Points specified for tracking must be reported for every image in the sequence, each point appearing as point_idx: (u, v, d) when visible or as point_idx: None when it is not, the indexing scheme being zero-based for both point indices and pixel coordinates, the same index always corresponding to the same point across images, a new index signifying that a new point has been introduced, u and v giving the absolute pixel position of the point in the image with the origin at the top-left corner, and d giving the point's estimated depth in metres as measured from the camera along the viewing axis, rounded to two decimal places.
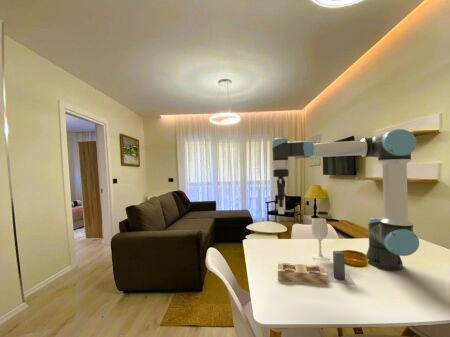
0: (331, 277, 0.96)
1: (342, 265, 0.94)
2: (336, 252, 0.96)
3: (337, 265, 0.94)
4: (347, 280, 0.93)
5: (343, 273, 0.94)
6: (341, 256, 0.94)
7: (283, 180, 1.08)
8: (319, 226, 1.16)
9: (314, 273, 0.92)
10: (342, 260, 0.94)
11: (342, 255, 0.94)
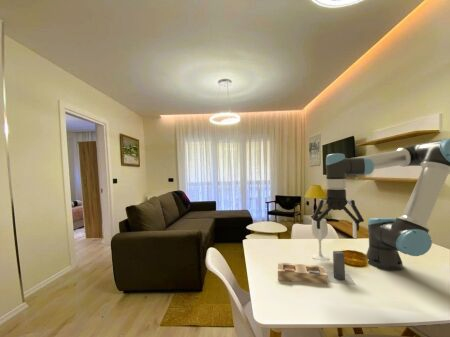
0: (331, 277, 0.96)
1: (342, 265, 0.94)
2: (336, 252, 0.96)
3: (337, 265, 0.94)
4: (347, 280, 0.93)
5: (343, 273, 0.94)
6: (341, 256, 0.94)
7: (334, 202, 0.96)
8: None
9: (314, 273, 0.92)
10: (342, 260, 0.94)
11: (342, 255, 0.94)
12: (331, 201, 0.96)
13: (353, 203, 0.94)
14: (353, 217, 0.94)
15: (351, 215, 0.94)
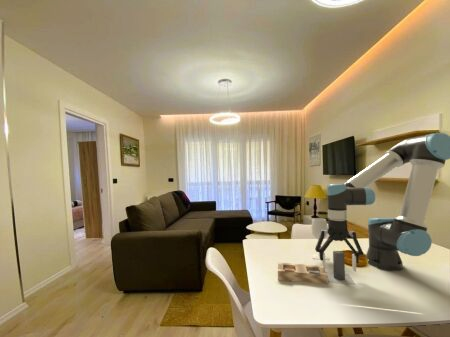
0: (331, 277, 0.96)
1: (342, 265, 0.94)
2: (336, 252, 0.96)
3: (337, 265, 0.94)
4: (347, 280, 0.93)
5: (343, 273, 0.94)
6: (341, 256, 0.94)
7: (335, 232, 0.95)
8: (319, 226, 1.16)
9: (314, 273, 0.92)
10: (342, 260, 0.94)
11: (342, 255, 0.94)
12: (332, 231, 0.96)
13: (354, 235, 0.93)
14: (353, 249, 0.93)
15: (351, 247, 0.94)
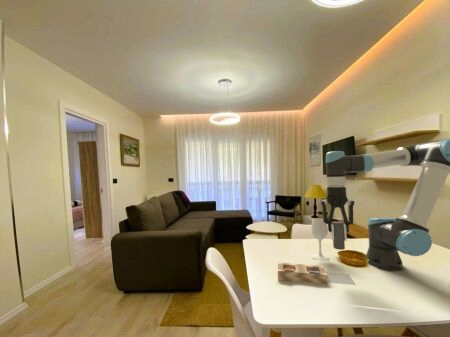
0: (331, 277, 0.96)
1: (342, 234, 0.94)
2: (335, 222, 0.96)
3: (336, 234, 0.94)
4: (347, 280, 0.93)
5: (343, 242, 0.94)
6: (341, 226, 0.94)
7: (334, 199, 0.96)
8: (319, 226, 1.16)
9: (314, 273, 0.92)
10: (341, 229, 0.94)
11: (341, 224, 0.94)
12: (331, 198, 0.96)
13: (352, 204, 0.94)
14: (345, 218, 0.94)
15: (344, 216, 0.94)
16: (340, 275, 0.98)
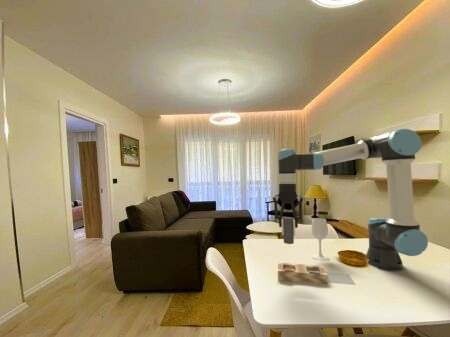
0: (331, 277, 0.96)
1: (290, 229, 0.97)
2: (286, 218, 1.00)
3: (286, 229, 0.98)
4: (347, 280, 0.93)
5: (291, 237, 0.97)
6: (290, 221, 0.97)
7: (284, 195, 0.99)
8: (319, 226, 1.16)
9: (314, 273, 0.92)
10: (290, 225, 0.97)
11: (290, 220, 0.98)
12: (282, 194, 0.99)
13: (301, 200, 0.97)
14: (294, 214, 0.98)
15: (294, 211, 0.98)
16: (340, 275, 0.98)
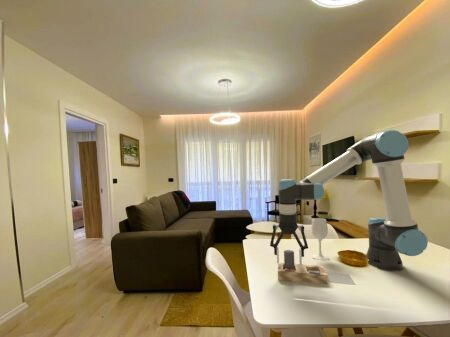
0: (331, 277, 0.96)
1: (291, 264, 0.97)
2: (287, 251, 0.99)
3: (287, 264, 0.97)
4: (347, 280, 0.93)
5: None
6: (291, 255, 0.97)
7: (285, 226, 0.99)
8: (319, 226, 1.16)
9: (314, 273, 0.92)
10: (291, 259, 0.97)
11: (291, 254, 0.97)
12: (282, 225, 0.99)
13: (302, 229, 0.97)
14: (299, 243, 0.97)
15: (298, 241, 0.97)
16: (340, 275, 0.98)
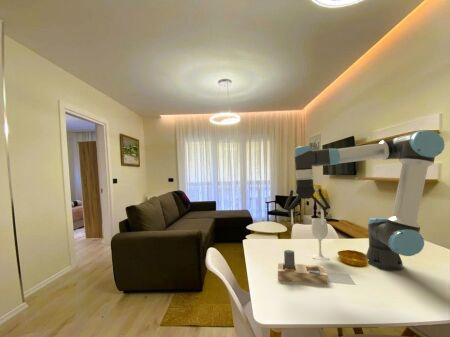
0: (331, 277, 0.96)
1: (291, 264, 0.97)
2: (287, 251, 0.99)
3: (287, 264, 0.97)
4: (347, 280, 0.93)
5: None
6: (291, 255, 0.97)
7: (303, 191, 1.02)
8: (319, 226, 1.16)
9: (314, 273, 0.92)
10: (291, 259, 0.97)
11: (291, 254, 0.97)
12: (300, 191, 1.03)
13: (320, 191, 1.01)
14: (320, 204, 1.01)
15: (318, 203, 1.01)
16: (340, 275, 0.98)
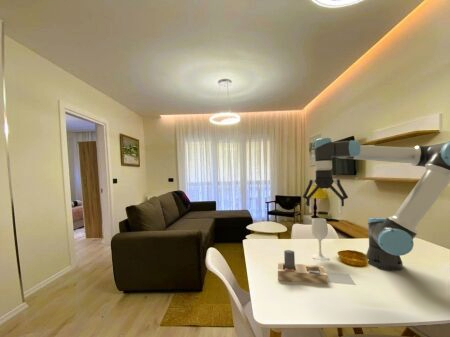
0: (331, 277, 0.96)
1: (291, 264, 0.97)
2: (287, 251, 0.99)
3: (287, 264, 0.97)
4: (347, 280, 0.93)
5: None
6: (291, 255, 0.97)
7: (322, 181, 1.07)
8: (319, 226, 1.16)
9: (314, 273, 0.92)
10: (292, 259, 0.97)
11: (292, 254, 0.97)
12: (319, 181, 1.08)
13: (338, 182, 1.05)
14: (338, 194, 1.05)
15: (337, 193, 1.05)
16: (340, 275, 0.98)
